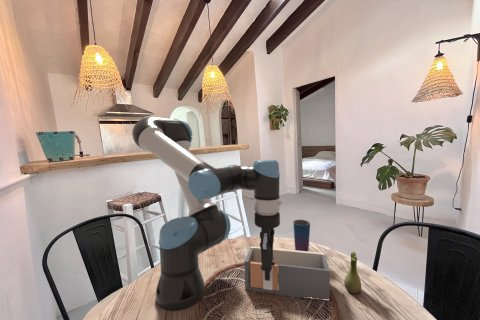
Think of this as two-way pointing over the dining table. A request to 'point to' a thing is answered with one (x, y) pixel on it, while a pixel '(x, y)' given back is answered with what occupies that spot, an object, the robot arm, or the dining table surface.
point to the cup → (301, 234)
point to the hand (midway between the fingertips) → (268, 287)
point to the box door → (258, 275)
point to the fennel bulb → (353, 277)
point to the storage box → (294, 273)
